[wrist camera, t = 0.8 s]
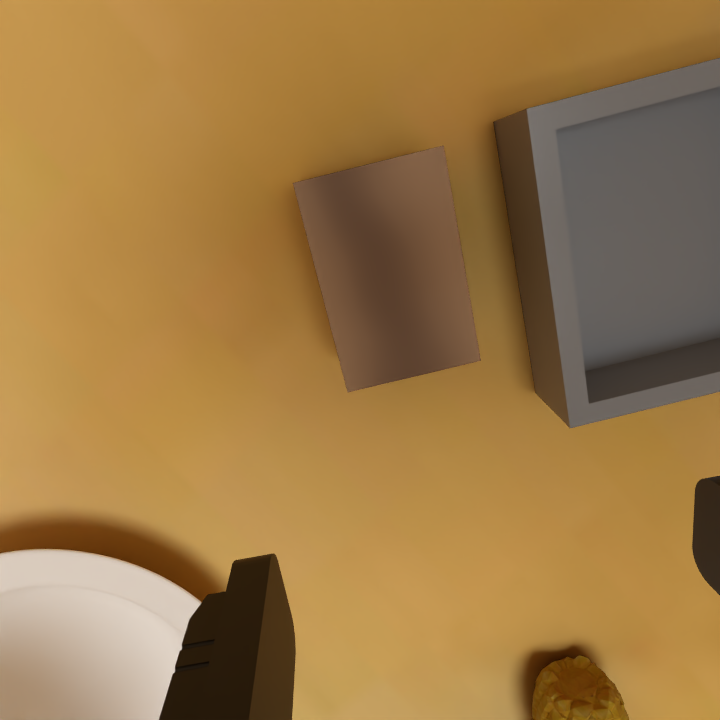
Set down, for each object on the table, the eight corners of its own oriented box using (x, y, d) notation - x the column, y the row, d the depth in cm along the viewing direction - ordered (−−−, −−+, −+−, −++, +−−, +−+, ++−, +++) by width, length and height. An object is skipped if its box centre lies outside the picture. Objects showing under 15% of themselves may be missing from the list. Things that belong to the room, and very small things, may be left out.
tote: (770, 48, 25) (862, 20, 20) (771, 334, 29) (847, 360, 25) (493, 121, 25) (526, 108, 21) (535, 392, 29) (569, 428, 25)
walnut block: (423, 152, 26) (443, 145, 21) (455, 331, 28) (480, 360, 24) (300, 183, 26) (293, 183, 21) (345, 357, 28) (347, 392, 24)
